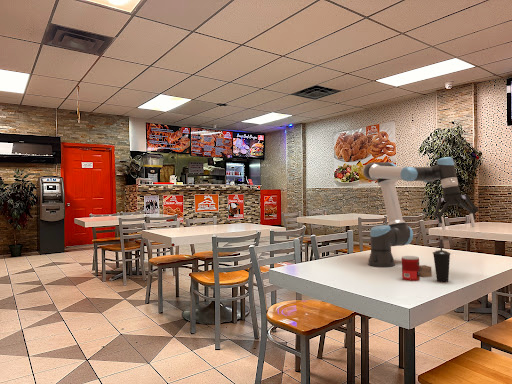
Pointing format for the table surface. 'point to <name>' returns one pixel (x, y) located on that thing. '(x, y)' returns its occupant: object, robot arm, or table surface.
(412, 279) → the canned food
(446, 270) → the drinking cup
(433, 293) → the table surface
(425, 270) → the walnut block
